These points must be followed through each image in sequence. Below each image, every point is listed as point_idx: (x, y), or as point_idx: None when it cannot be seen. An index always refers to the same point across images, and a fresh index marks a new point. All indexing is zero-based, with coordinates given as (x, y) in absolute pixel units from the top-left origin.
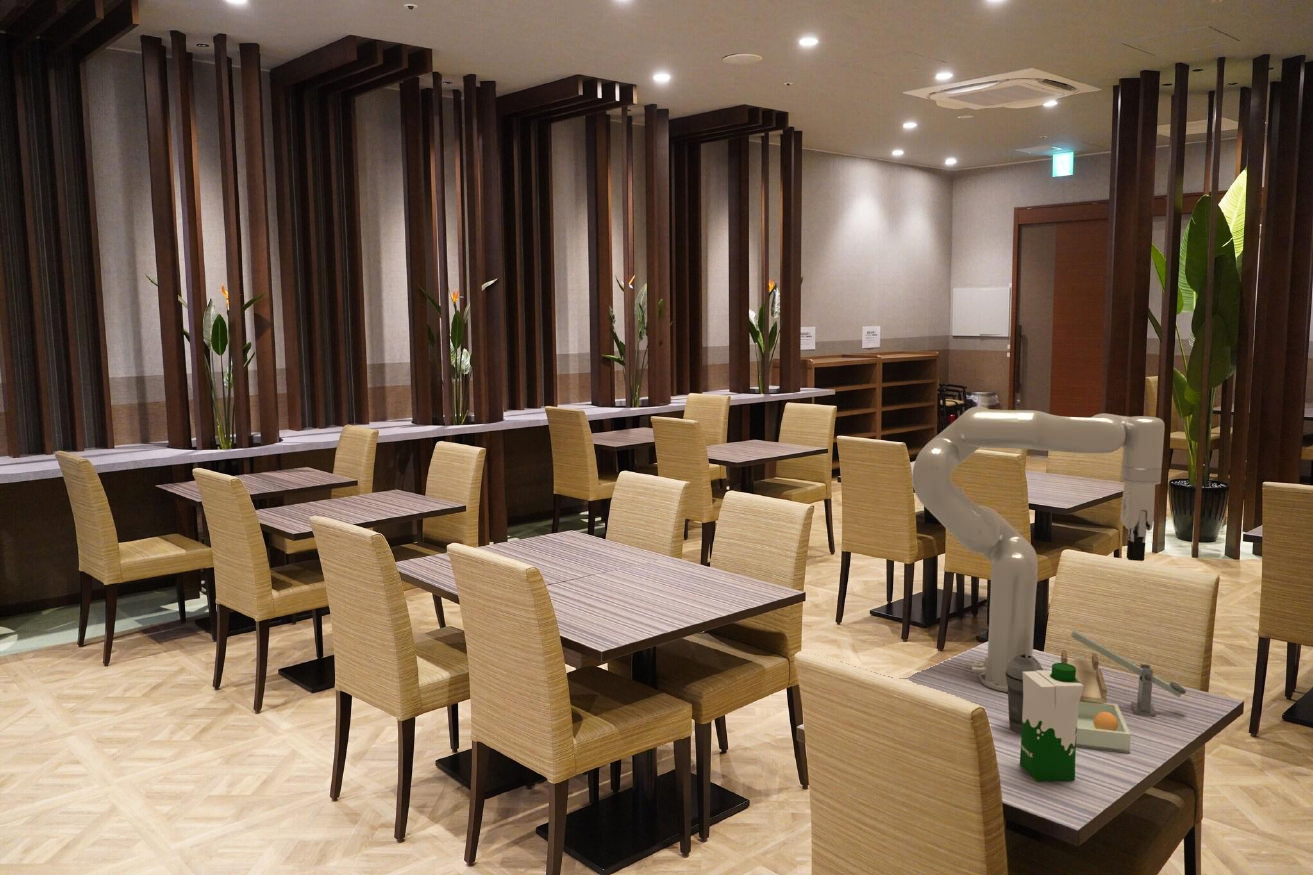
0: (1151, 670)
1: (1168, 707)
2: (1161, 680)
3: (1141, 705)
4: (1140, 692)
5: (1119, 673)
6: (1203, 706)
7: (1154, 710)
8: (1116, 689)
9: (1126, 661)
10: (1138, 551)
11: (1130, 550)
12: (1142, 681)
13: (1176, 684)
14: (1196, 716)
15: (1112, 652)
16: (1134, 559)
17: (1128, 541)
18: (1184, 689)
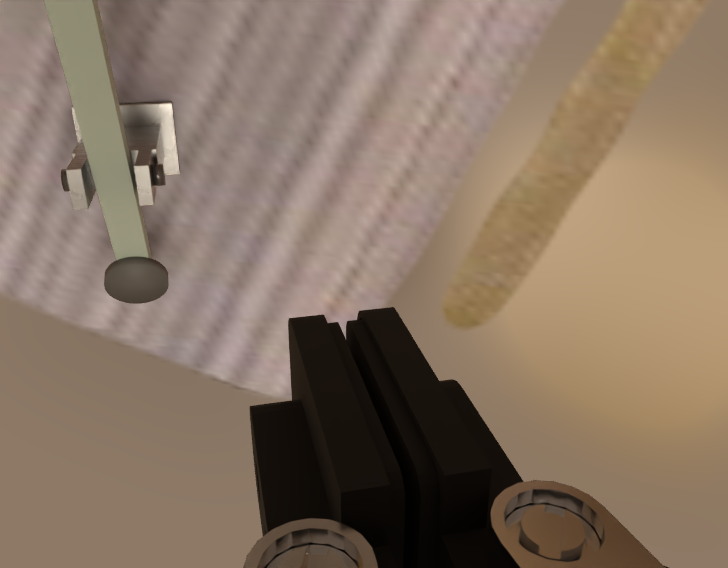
0: (72, 203)
1: (202, 226)
2: (121, 231)
3: None
4: None
5: (496, 102)
6: (256, 326)
7: None
8: (323, 69)
9: (73, 98)
10: (261, 515)
11: (312, 413)
12: (75, 155)
13: (153, 279)
14: None
15: (83, 29)
16: (294, 390)
17: (441, 469)
18: (147, 299)
